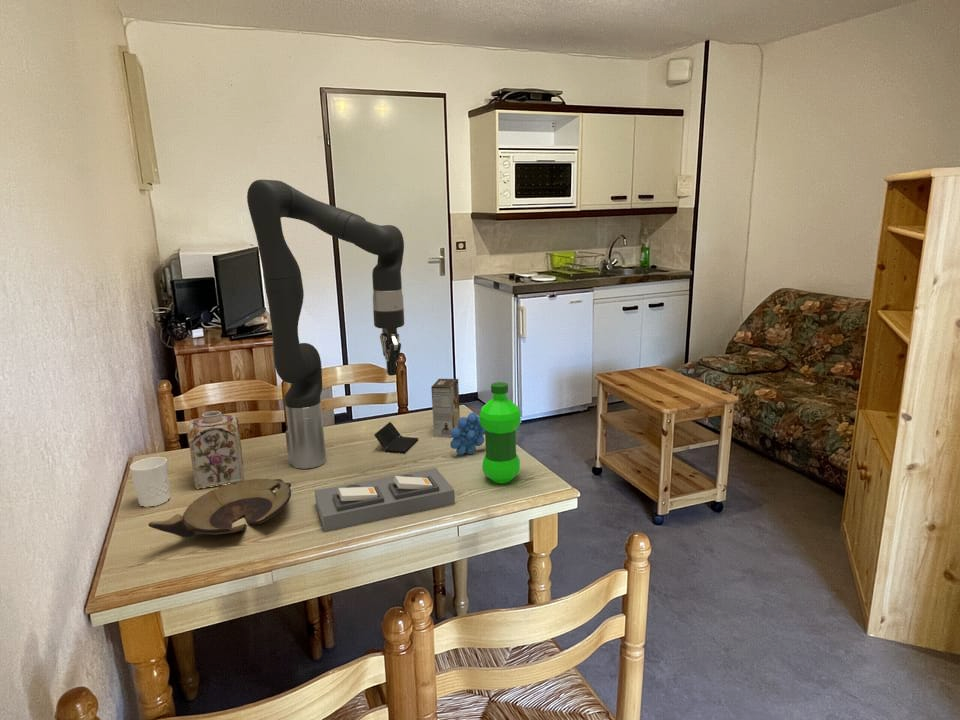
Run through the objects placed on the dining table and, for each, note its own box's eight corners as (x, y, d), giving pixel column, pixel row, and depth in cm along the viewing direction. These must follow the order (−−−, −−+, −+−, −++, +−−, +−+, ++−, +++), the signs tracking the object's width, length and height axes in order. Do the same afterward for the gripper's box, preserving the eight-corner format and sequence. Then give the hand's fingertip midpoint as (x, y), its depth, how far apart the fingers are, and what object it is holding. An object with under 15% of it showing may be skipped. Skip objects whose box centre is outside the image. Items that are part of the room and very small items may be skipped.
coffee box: (441, 426, 194) (438, 377, 190) (460, 427, 192) (458, 378, 188) (433, 436, 185) (430, 386, 181) (453, 437, 184) (451, 386, 180)
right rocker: (398, 488, 138) (399, 483, 138) (394, 480, 142) (395, 475, 142) (431, 490, 142) (432, 484, 141) (426, 482, 146) (427, 477, 145)
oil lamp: (307, 526, 134) (304, 494, 132) (154, 568, 120) (148, 533, 118) (285, 488, 153) (281, 460, 151) (150, 520, 139) (145, 489, 137)
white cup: (136, 512, 143) (129, 472, 140) (137, 498, 149) (130, 460, 147) (173, 504, 146) (167, 465, 144) (172, 491, 153) (166, 454, 151)
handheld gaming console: (411, 448, 172) (389, 421, 172) (392, 463, 173) (370, 436, 173) (420, 439, 183) (400, 413, 183) (402, 453, 184) (382, 427, 184)
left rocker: (341, 501, 134) (341, 495, 134) (338, 492, 138) (338, 487, 138) (377, 499, 137) (377, 494, 137) (372, 491, 141) (373, 486, 141)
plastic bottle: (473, 481, 154) (470, 386, 148) (498, 467, 162) (496, 376, 156) (504, 491, 148) (502, 393, 142) (529, 476, 155) (528, 382, 149)
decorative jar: (195, 491, 153) (184, 423, 148) (197, 473, 163) (188, 409, 159) (245, 482, 157) (237, 416, 153) (244, 465, 167) (236, 403, 163)
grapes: (481, 444, 177) (480, 405, 174) (492, 452, 172) (491, 412, 169) (444, 452, 172) (443, 412, 169) (454, 460, 166) (453, 419, 164)
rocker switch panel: (324, 531, 131) (322, 512, 130) (315, 504, 144) (314, 486, 143) (454, 503, 142) (454, 486, 141) (436, 480, 155) (435, 464, 154)
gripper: (410, 310, 146) (413, 379, 150) (396, 302, 158) (399, 367, 162) (379, 312, 143) (383, 383, 148) (368, 304, 155) (371, 370, 160)
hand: (391, 374), depth 155 cm, fingers closed
